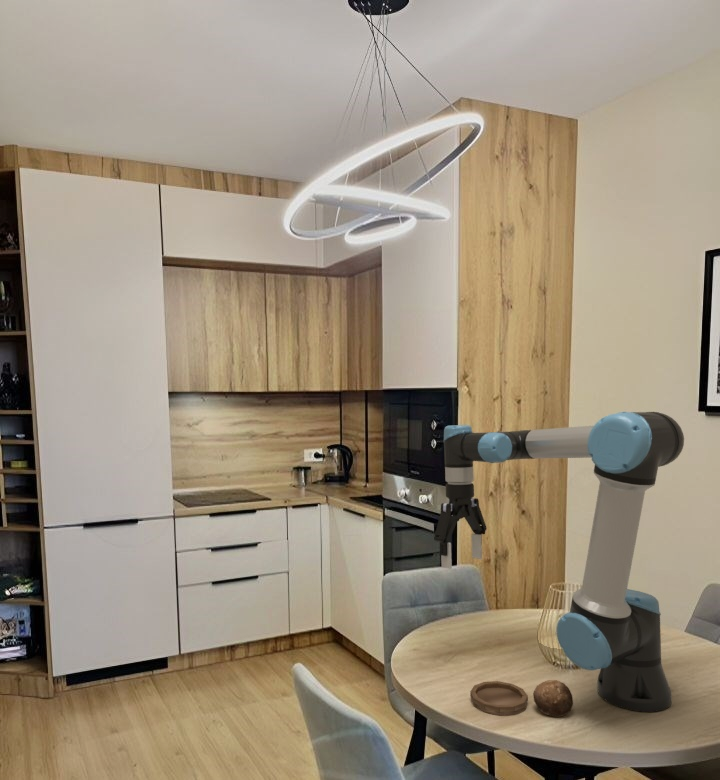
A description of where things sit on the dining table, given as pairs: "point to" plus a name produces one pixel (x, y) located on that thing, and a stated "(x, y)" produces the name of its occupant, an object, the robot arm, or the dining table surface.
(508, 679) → the dining table surface
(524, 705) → the tray
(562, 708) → the brown ball
